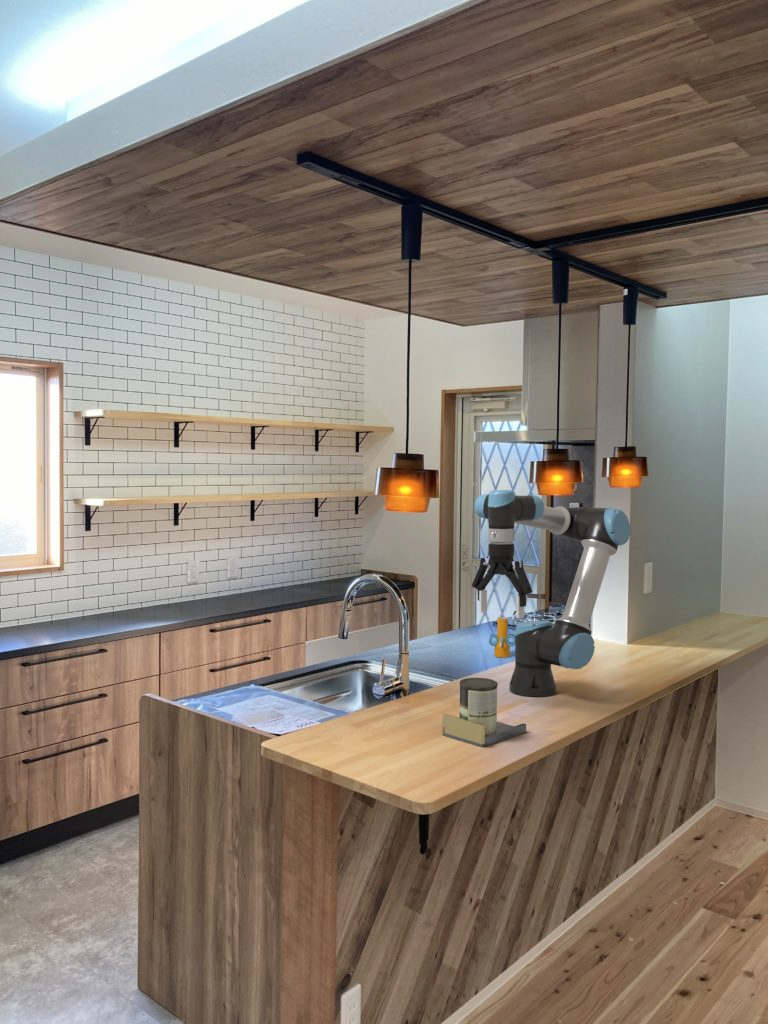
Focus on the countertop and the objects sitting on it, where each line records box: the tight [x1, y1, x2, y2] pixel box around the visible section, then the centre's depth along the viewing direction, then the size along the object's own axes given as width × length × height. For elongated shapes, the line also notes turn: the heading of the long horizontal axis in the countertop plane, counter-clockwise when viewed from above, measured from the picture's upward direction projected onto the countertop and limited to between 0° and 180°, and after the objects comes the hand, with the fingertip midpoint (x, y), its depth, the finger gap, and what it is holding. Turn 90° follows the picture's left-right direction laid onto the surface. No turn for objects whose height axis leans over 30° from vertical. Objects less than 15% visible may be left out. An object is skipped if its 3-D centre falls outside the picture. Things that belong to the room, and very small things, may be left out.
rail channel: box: [442, 713, 527, 748], centre depth 235 cm, size 19×14×6 cm
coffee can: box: [459, 677, 499, 736], centre depth 232 cm, size 10×10×14 cm
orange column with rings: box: [488, 616, 515, 659], centre depth 334 cm, size 12×10×15 cm
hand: (501, 614), depth 251 cm, fingers open, 13 cm apart
